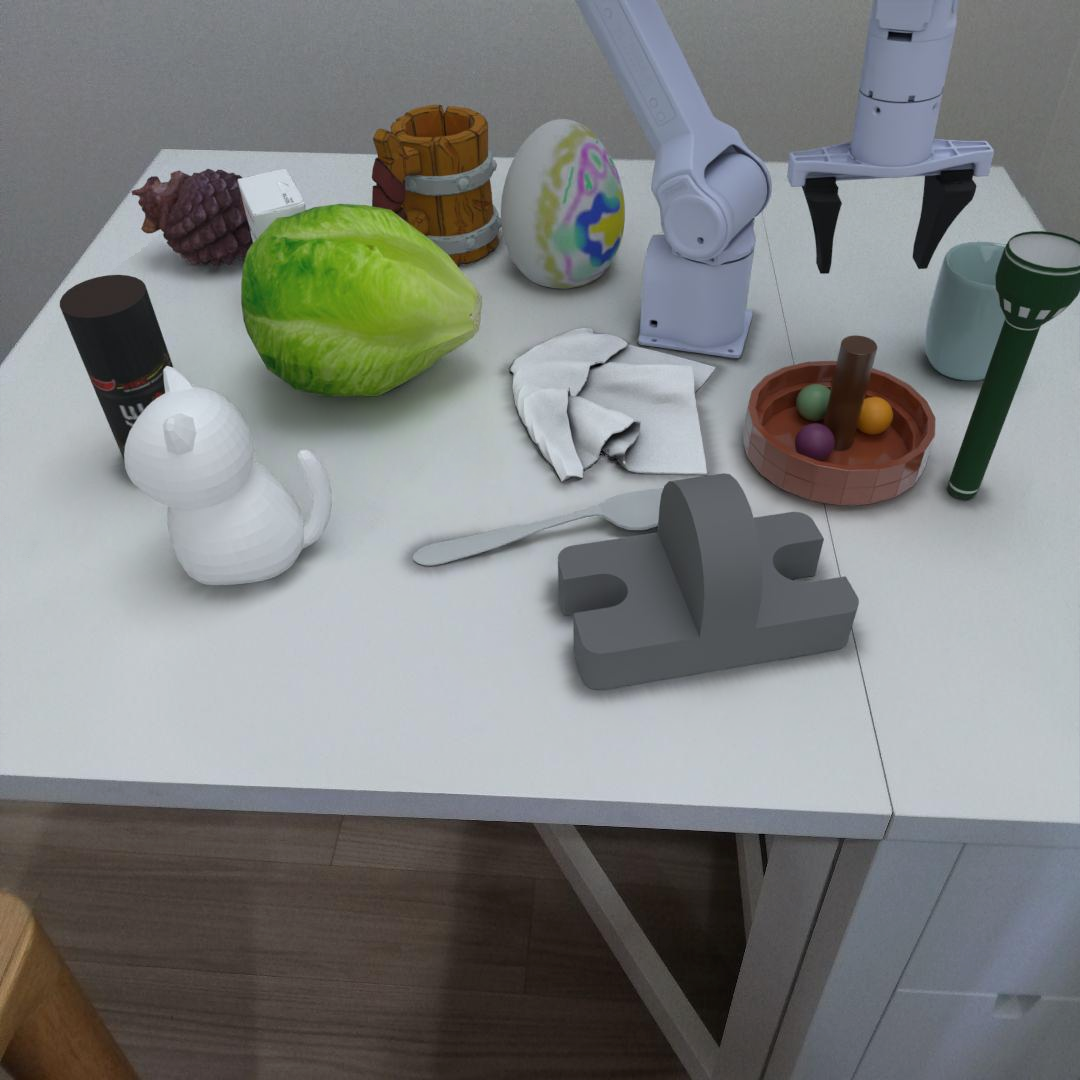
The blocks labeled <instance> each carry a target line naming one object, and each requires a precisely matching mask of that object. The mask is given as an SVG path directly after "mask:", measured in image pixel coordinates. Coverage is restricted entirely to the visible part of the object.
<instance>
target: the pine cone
mask: <svg viewBox="0 0 1080 1080" xmlns="http://www.w3.org/2000/svg"><path fill="white" fill-rule="evenodd" d="M240 178H243V177H242V176H241V174H236V173H235V172H227V171H225V170H223V169H216V171H215V170H213V169H211V168H206V169H205V170H202V171H200V172H193V173H192V174H191V175H190V174H187V173H185V172H184V171H181V170H175V171H173V172H170V179H169V180H168V181H163V182H162V181H161V179H160V178H159V177H158V176H154V175H153V176H150V177H148V178H147V180H146V182H145V183H144V184H143V186H142V187H140V188H136V189H134V190H131V195H132V196H137V197H138V198H139V199H138V201H137V203H138V205H139V206H140V207H141V211H142V212H143V213H144V220H143V223H142V226H141V228H140V229H141V231H142V233H145V234H153V233H156V232H158V231H162V237H163V238H164V240H166V244H167V245H168V247H170V248H171V249H172V251H173V252H174V253H176V254H179V256H180V257H181V258H182V259H183V260H185V261H187V262H188V264H189V265H191V266H198V265H200V264H201V265H202V266H205V265H206V266H207V265H209V264H210V265H211V266H212V268H218V267H220V266H221V265H222V264H223V263H225V264H226V265H228V266H229V265H233V264H234V262H235V259H237V258H239V259H240V260H245V258H246V254H247V251H248V250H249V248H250V247H251V245H252V244H253V241H252V237H251V233H250V228H249V224H248V220H247V216H246V212H245V208H244V204H243V200H242V196H241V192H240V188H239V184H238V179H240Z"/></svg>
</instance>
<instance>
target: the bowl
mask: <svg viewBox="0 0 1080 1080" xmlns="http://www.w3.org/2000/svg"><path fill="white" fill-rule="evenodd" d="M836 363H837V360H816V361H815V360H814V361H804V362H800V363H795V364H791V365H787V366H783V367H781V368H779V369H777V370H775V371H773V372H771V373H769V374H767V375H765V376H764V377H763V378H762V379H761V380H760V381H759V382H758V383H757V384H756V385H755V386H754V388H753V389H752V390H751V392H750V396H749V400H748V404H747V409H746V416H745V421H744V429H743V436H742V443H743V446H744V447H743V448H744V451H745V454H746V457H747V459H748V461H749V462H750V463H751V464H752V465H753V467H754V468H755V469H756V471H757V472H758V473H759V475H761V476H762V477H763V478H765V479H766V480H768V481H769V482H771V483H772V484H774V485H775V486H777V487H778V488H779V489H781V490H783V491H786V492H789V493H790V494H793V495H795V496H798V497H799V498H803V499H806V500H809V501H813V502H817V503H822V504H828V505H835V506H857V505H858V506H859V505H871V504H875V503H879V502H883V501H887V500H890V499H894V498H896V497H898V496H899V495H901V494H902V493H904V492H907V490H909V489H911V488H912V487H913V486H915V485H916V484H917V481H918V480H919V479H920V477H921V476H922V474H923V472H924V471H925V468H926V465H927V462H928V459H929V455H930V453H931V449H932V446H933V443H934V440H935V437H936V416H935V414H934V412H933V410H932V409H931V407H930V404H929V402H928V401H927V400H926V398H924V397H923V396H922V395H921V394H920V393H919V392H918V391H917V390H916V389H915V388H914V387H912V385H910V383H909V384H908V383H907V382H905V381H903V380H901V379H900V378H898V377H896V376H894V375H892V374H890V373H888V372H885V371H883V370H879V369H877V368H874V367H872V371H871V375H870V379H869V383H868V387H867V391H866V395H865V399H866V398H869V397H878V398H882V399H884V400H885V401H887V402H888V403H889V405H890V406H891V408H892V411H893V419H892V422H891V424H890V426H889V427H888V428H887V429H886V430H885V431H884V432H882V433H879V434H875V435H870V434H866V433H863V432H862V431H860V430H859V429H858V428H857V431H856V435H855V439H854V443H853V445H852V447H851V448H849V449H847V450H842V451H837V450H833V451H832V453H831V454H830V456H829V457H827V458H826V459H825V460H823V461H817V460H815V459H812V458H809V457H807V456H804V455H801V454H799V453H797V451H796V448H795V438H796V436H797V434H798V432H799V431H800V430H801V429H802V428H803V427H805V426H806V425H809V424H814V423H817V424H822V425H823V423H824V419H822V420H819V421H810V420H807V419H805V418H803V417H802V416H801V415H800V414H799V412H798V410H797V407H796V400H797V396H798V394H799V393H800V391H801V390H802V389H803V388H805V387H806V386H808V385H812V384H820V385H823V386H825V387H827V388H828V389H829V390H830V391H831V386H832V382H833V377H834V373H835V368H836Z"/></svg>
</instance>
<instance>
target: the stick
mask: <svg viewBox="0 0 1080 1080" xmlns="http://www.w3.org/2000/svg"><path fill="white" fill-rule="evenodd" d="M877 350H878V345H877V343H876V341H875V340H873V339H872V338H870V337H867V336H864V335H859V334H858V335H857V334H856V335H854V334H853V335H849V336H845V337H844V338H842V340H841V342H840V345H839V350H838V355H837V359H836V361H837V363H836V368H835V373H834V377H833V382H832V386H831V391H830V395H829V400H828V405H827V409H826V414H825V418H824V423H823V425H824V426H826V427H828V428H829V429H830V430H831V432H832V433H833V435H834V439H835V446H834V449H833V450H837V451H842V450H847V449H849V448H851V447H852V445H853V443H854V439H855V435H856V431H857V427H858V423H859V419H860V415H861V411H862V407H863V403H864V399H865V395H866V391H867V387H868V383H869V379H870V375H871V371H872V368H874V367H873V366H874V362H875V358H876V354H877Z"/></svg>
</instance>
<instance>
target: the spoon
mask: <svg viewBox="0 0 1080 1080" xmlns="http://www.w3.org/2000/svg"><path fill="white" fill-rule="evenodd" d="M663 488H664V487H662V488H661V487H658V488H650V489H644V490H637V491H630V492H624V493H621V494H617V495H614V496H612V497H610V498H607V499H606V500H604V501H602V502H601V503H598V504H595V505H592V506H588V507H586V508H582V509H579V510H576V511H573V512H570V513H567V514H566V513H565V514H563V515H559V516H555V517H551V518H550V517H549V518H546V519H542V520H538V521H532V522H528V523H523V524H519V525H514V526H509V527H505V528H500V529H495V530H490V531H487V532H482V533H478V534H477V533H476V534H473V535H468V536H464V537H459V538H455V539H450V540H449V539H448V540H445V541H444V540H443V541H439V542H433V543H430V544H427V545H424V546H422V547H420V548H419V549H418V550H416V551H415V552H414V554H413V556H412V560H413V561H414V562H415V563H417V564H419V565H422V566H438V565H443V564H446V563H450V562H453V561H457V560H460V559H464V558H468V557H472V556H475V555H478V554H482V553H485V552H488V551H491V550H494V549H497V548H500V547H503V546H505V545H508V544H510V543H513V542H516V541H519V540H521V539H523V538H524V539H525V538H526V537H528V536H531V535H534V534H537V533H540V532H542V531H544V530H547V529H551V528H554V527H558V526H561V525H565V524H568V523H571V522H575V521H578V520H581V519H585V518H591V517H600V518H603V519H605V520H607V521H608V522H610V523H612V524H613V525H615V526H616V527H618V528H622V529H625V530H628V531H646V530H649V529H651V528H652V529H653V528H656V527H658V520H659V507H660V500H661V494H662V491H663Z"/></svg>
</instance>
